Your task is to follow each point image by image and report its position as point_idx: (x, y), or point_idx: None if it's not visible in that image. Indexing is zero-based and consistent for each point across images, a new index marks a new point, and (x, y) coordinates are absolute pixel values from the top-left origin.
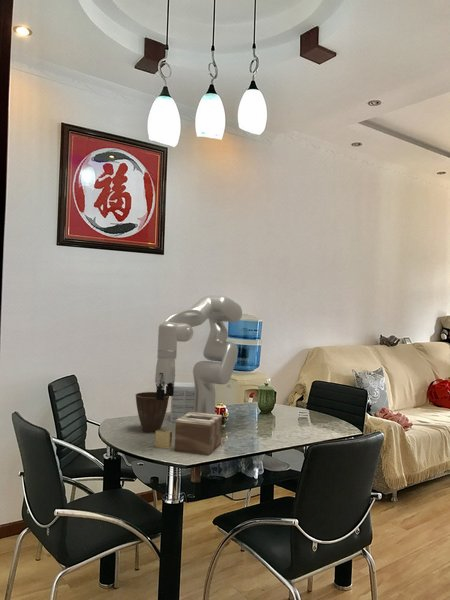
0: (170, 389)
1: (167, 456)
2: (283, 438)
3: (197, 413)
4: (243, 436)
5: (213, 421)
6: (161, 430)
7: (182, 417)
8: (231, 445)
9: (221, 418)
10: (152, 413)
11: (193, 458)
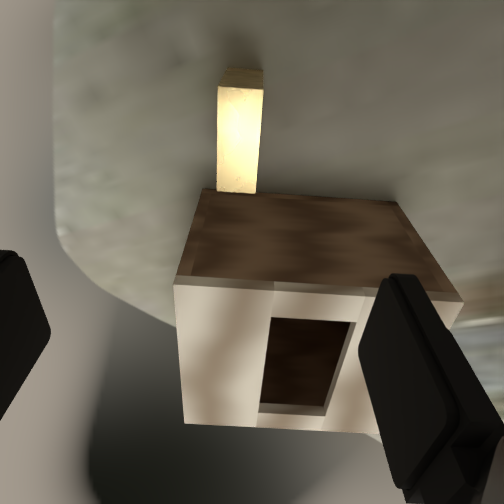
0: (394, 414)
1: (108, 183)
2: None
3: None
4: (486, 363)
5: (238, 425)
6: (241, 125)
7: (264, 301)
8: None
9: None
10: None
11: (140, 277)
